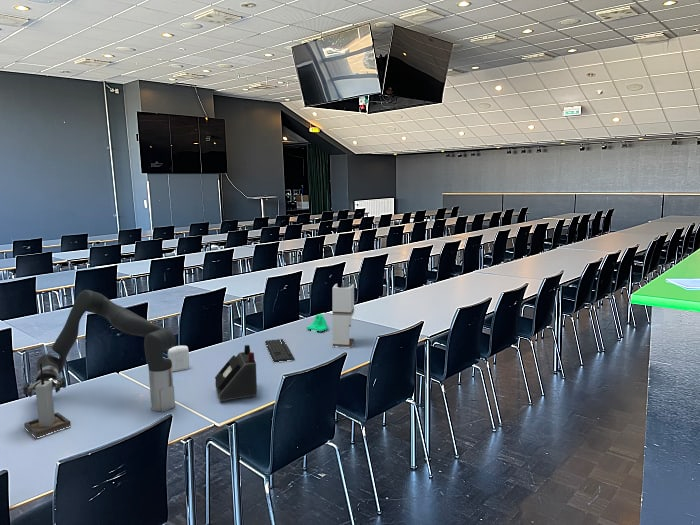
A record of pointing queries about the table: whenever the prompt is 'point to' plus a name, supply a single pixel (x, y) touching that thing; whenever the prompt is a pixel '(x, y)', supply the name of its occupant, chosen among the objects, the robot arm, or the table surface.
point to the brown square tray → (40, 431)
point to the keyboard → (279, 350)
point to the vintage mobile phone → (45, 402)
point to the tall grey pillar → (342, 315)
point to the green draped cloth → (318, 323)
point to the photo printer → (179, 357)
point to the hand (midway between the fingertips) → (43, 392)
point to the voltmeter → (237, 377)
